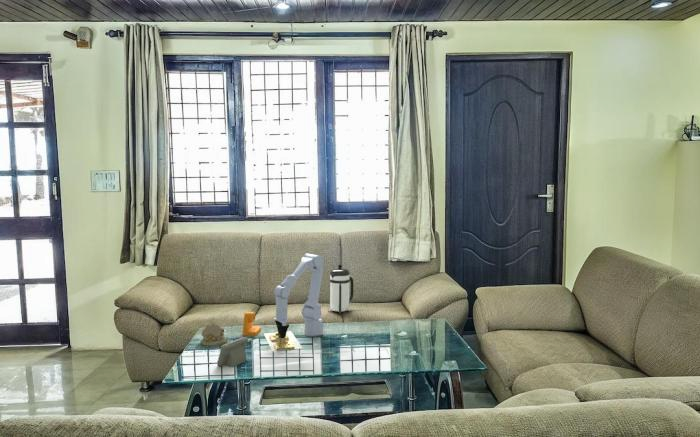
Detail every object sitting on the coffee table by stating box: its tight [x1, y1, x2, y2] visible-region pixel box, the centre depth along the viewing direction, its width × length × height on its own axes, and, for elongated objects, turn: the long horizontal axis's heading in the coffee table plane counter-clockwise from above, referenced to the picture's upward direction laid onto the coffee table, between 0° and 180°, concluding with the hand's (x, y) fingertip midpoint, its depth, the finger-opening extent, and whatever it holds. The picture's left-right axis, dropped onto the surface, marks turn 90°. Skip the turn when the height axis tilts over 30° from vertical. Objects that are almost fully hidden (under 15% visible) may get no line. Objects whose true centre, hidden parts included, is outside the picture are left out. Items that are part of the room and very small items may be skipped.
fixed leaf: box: [274, 335, 296, 352], centre depth 259 cm, size 9×13×4 cm
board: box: [263, 330, 303, 352], centre depth 267 cm, size 15×28×1 cm, turn 18°
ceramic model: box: [200, 322, 229, 346], centre depth 266 cm, size 14×11×10 cm
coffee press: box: [327, 264, 354, 316], centre depth 324 cm, size 17×16×30 cm
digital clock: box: [216, 336, 249, 368], centre depth 238 cm, size 16×9×11 cm, turn 137°
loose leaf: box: [269, 331, 289, 341], centre depth 270 cm, size 9×8×4 cm
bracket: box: [242, 311, 262, 337], centre depth 279 cm, size 11×7×12 cm, turn 174°
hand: (281, 335), depth 262 cm, fingers open, 7 cm apart
